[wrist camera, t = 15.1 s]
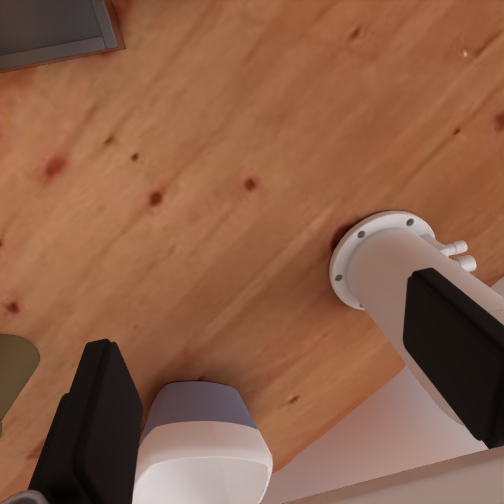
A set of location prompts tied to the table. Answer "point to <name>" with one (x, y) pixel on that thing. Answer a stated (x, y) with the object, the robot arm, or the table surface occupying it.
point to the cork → (15, 369)
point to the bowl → (201, 449)
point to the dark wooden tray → (55, 31)
